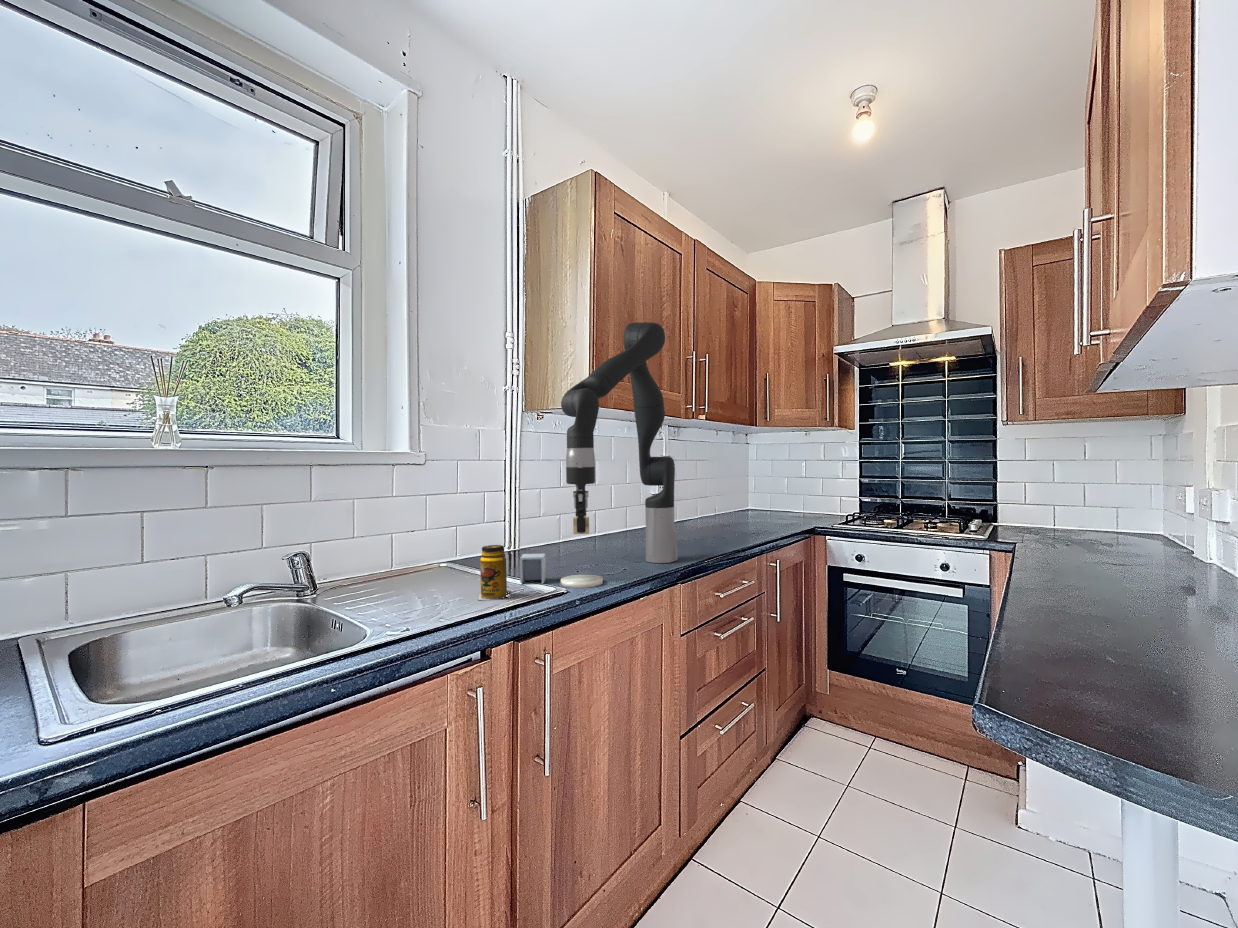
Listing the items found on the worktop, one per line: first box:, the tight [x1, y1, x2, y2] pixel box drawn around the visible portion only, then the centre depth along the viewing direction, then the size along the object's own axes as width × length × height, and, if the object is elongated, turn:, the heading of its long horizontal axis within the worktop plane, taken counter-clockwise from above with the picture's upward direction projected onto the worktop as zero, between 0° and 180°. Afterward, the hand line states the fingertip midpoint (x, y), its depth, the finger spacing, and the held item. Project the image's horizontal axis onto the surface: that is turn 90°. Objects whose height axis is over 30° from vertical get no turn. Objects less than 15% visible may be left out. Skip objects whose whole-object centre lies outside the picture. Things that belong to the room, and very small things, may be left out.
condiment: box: [478, 544, 511, 601], centre depth 133 cm, size 7×8×12 cm
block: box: [572, 516, 590, 535], centre depth 146 cm, size 4×4×4 cm
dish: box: [560, 574, 604, 589], centre depth 146 cm, size 11×11×1 cm
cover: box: [519, 553, 547, 584], centre depth 148 cm, size 6×6×7 cm
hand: (581, 531), depth 146 cm, fingers closed on block, 4 cm apart
